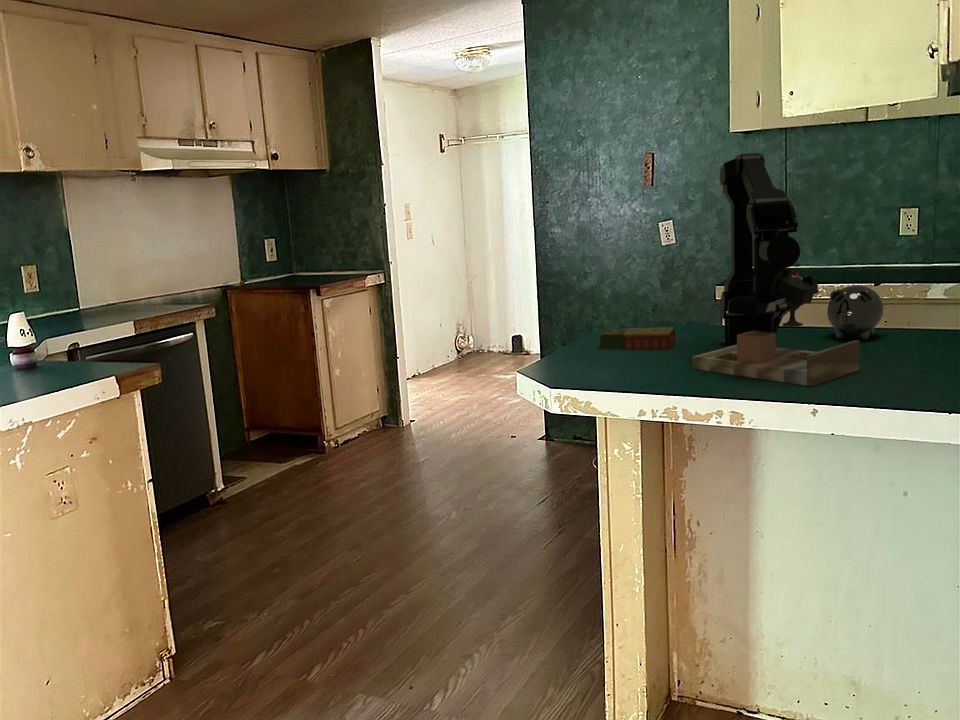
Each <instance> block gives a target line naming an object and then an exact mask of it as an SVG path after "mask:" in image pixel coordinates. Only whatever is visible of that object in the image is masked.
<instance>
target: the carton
mask: <svg viewBox="0 0 960 720" xmlns="http://www.w3.org/2000/svg"><path fill="white" fill-rule="evenodd" d="M676 335H677V334H676V327H672V326H671V327H669V326H668V327H667V326H666V327H665V326H662V327H661V326H660V327H617V328H616V327H612V328H611V327H608V328H606V330H604V331H603V332H602V333H600V334H599V347H600V350H601V349H619V350H618V351H622V350H623V351H630V350H631V351H670V350H672V348H673V347H674V346H675V345H676V340H677V339H676Z"/></svg>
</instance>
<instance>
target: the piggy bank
mask: <svg viewBox="0 0 960 720" xmlns="http://www.w3.org/2000/svg"><path fill="white" fill-rule="evenodd" d="M829 299H830V300H829V302H828V305H827V309H826V313H827V320H828V321H829V324H830V325H831V326H832V327H833V328H834V330H835V338H836V339H839V340H843V339H845V338H846V336H847V335H852V336H853V335H854V336H855V335H858V338H859V340H862V341H867V340H869V338H870V337H873V336H874V333H875V328H876V327H877V326H878V325H879V324H880V322H881V320H882V318H883V316H884V303H883V301H882V298H881V296H880V295H879V294H878V293H877V292H876V291H875V290H874V289H872V288H870V287H868V286H865V285H859V284H855V285H854V284H853V285H849V286H846V287H843V288H841V289H834V290H833V291H831V292H830V295H829Z"/></svg>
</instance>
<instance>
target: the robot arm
mask: <svg viewBox="0 0 960 720" xmlns="http://www.w3.org/2000/svg"><path fill="white" fill-rule="evenodd" d="M765 161H766V160H765V157H764V154H763V153H760V152H752V153H740V154H739V155H736V156H735V158H733V159H731V160H729V161H726V162H723V165H722V166H721V168H720V171H719V182H720V183H719V184H720V186H722V193H723V195H724V196H725V198H726V199H727V201H728V202H729V205H730V245H731V246H730V249H731V251H730V253H731V254H730V255H731V261H730V263H731V272H730V273H729V275H728V276H727V278H726V280H725V282H724V284H723V286H724V287H723V291H722V292H721V297H720V300H719V301H720V302H719V305H718V313H719V314H718V315H719V317H720V318H721V319H723V320H724V341H721V342H720V345H722V346H723V345H724V346H729V347H730V346H733V345H737V335H738V334H742V333H745V332H749V331H761V332H772V333H776V336H777V334H778V332H779V329H780V325H781V322H782V320H783V318H784V316H785V315H787V314H788V313H790V311H791V310H792V309H793V307H787V304H786V303H785V302H786V301H791V302H792V303H793V304H795V305H799V306H800V307H801V306H803V305H805V304H812V301H813V298H814V296H815V295H818V294H819V284H818V283H819V282H818V277H816V276H813V275H806V276H804V277H803V278H802V277H801V278H802V280H801V278H798V279H797V278H794V277H792V271H791V270H792V269H791V266H793V265H795V264H797V261H798V260H799V258H800V256H801V248H800V245H799V242H797V240H796V239H794V238H793V237H792V236H789V234H790V233H797V232H798V226H799V219H798V217H797V216H798V215H797V213H796V210H795V207H794V206H793V202H792V201H791V200H790V198H789V197H788V196H787V194H786V192H785V191H784V190H782V189H780V188H777V187H775V186H774V184H773V182H772V179H771V177H770V175H769V173H768V171H767V168H766V162H765Z"/></svg>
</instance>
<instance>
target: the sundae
mask: <svg viewBox="0 0 960 720" xmlns="http://www.w3.org/2000/svg"><path fill="white" fill-rule="evenodd" d="M799 266H800V263H796V266H795V267H794V269H790V270H791V271H792V277H794V278H797V279H798V278H801V280H802V279H803V278H802V277H801V272H799ZM795 269H797V272H795ZM785 303H786V304H787V307H793V309H792V310H791V311H789V319H788V321H787V322H784V323H782V324H781V326H782V327H789V328H790V327H791V328H792V327H793V328H794V327H802V326H804V323H802V322H799V321H797V320H796V311H797V310H798V309H800V307H801V306H799V305H795V304H793V303H792V302H791V301H786V302H785Z"/></svg>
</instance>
